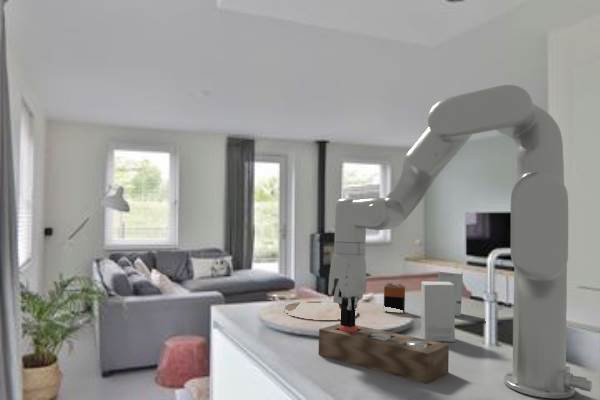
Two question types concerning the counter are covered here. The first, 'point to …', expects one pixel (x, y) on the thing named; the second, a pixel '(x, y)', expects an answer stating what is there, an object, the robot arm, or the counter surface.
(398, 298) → the battery
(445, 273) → the skincare box
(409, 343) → the plug
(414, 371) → the block
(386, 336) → the plug
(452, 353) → the counter surface
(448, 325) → the skincare box
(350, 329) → the red plug
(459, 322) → the counter surface
